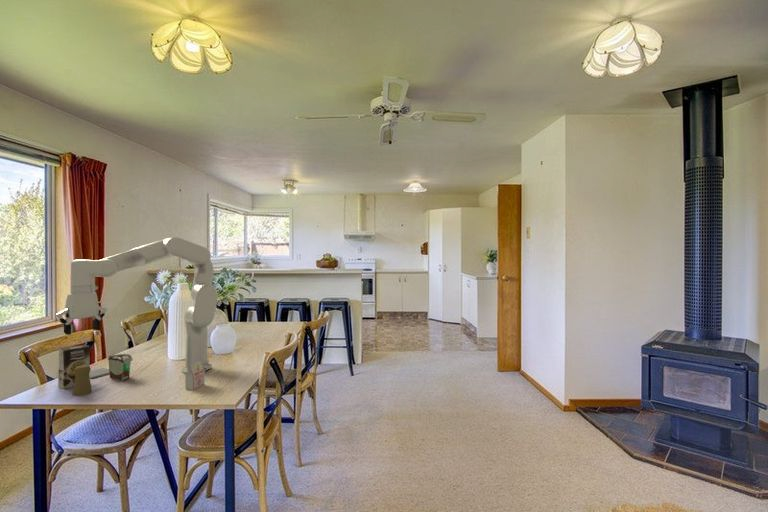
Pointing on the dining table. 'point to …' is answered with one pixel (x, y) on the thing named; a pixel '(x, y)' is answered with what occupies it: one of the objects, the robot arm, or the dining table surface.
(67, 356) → the coffee box
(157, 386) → the dining table surface
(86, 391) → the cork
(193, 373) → the red printed box
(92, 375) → the slate coaster
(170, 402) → the dining table surface
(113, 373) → the food container
